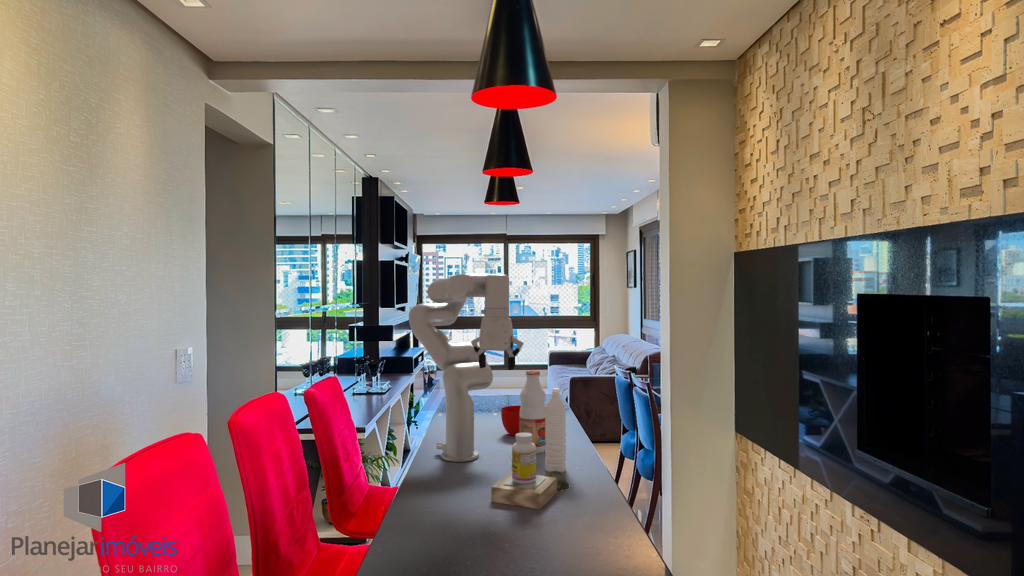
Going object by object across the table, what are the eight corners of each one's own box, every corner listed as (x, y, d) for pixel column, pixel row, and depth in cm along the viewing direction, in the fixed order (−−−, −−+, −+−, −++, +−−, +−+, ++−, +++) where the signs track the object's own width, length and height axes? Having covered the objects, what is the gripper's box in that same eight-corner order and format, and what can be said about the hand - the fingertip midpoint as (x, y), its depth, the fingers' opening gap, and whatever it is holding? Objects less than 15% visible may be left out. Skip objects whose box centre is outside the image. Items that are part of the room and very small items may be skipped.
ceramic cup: (545, 431, 241) (545, 406, 241) (523, 440, 226) (523, 413, 226) (517, 427, 248) (517, 402, 248) (494, 435, 233) (494, 409, 233)
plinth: (491, 501, 163) (491, 485, 163) (511, 485, 176) (511, 470, 176) (540, 509, 158) (540, 492, 157) (557, 491, 170) (557, 476, 170)
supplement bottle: (510, 477, 170) (510, 431, 170) (534, 476, 171) (534, 431, 170) (513, 485, 163) (513, 437, 163) (537, 484, 164) (537, 437, 164)
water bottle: (565, 473, 187) (565, 393, 187) (544, 472, 188) (544, 392, 187) (566, 465, 196) (566, 388, 195) (546, 464, 196) (546, 387, 196)
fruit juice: (520, 446, 218) (520, 369, 217) (546, 447, 217) (546, 369, 217) (518, 454, 208) (518, 373, 208) (546, 454, 208) (546, 373, 207)
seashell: (532, 474, 174) (544, 465, 183) (531, 488, 174) (543, 478, 183) (565, 482, 169) (576, 472, 179) (563, 496, 170) (575, 486, 179)
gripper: (466, 313, 188) (466, 368, 188) (518, 314, 181) (518, 371, 181) (477, 312, 195) (477, 365, 195) (527, 313, 188) (527, 368, 188)
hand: (496, 368), depth 188 cm, fingers open, 9 cm apart
